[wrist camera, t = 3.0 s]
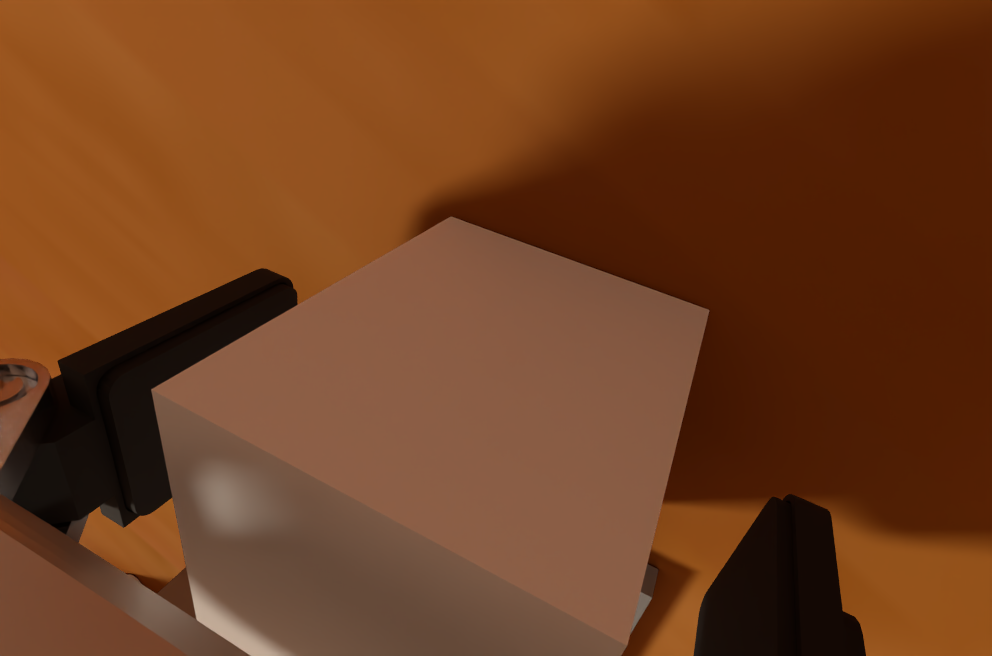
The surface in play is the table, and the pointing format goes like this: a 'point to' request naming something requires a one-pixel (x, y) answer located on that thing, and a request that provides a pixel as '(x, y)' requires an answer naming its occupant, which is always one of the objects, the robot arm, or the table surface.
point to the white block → (433, 457)
